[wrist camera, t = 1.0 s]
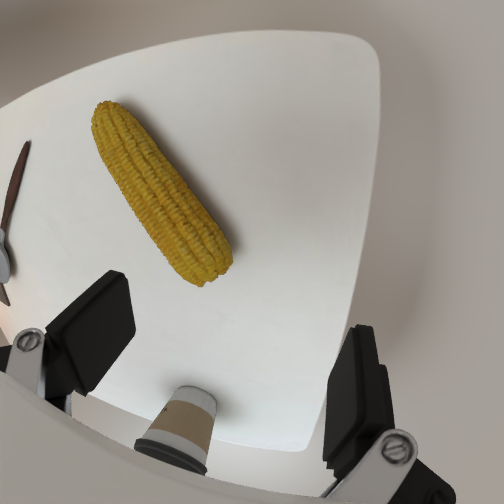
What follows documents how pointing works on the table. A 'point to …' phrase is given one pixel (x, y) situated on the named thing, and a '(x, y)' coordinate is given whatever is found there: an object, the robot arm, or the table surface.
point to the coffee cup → (182, 431)
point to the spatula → (3, 295)
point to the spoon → (0, 257)
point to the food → (160, 197)
